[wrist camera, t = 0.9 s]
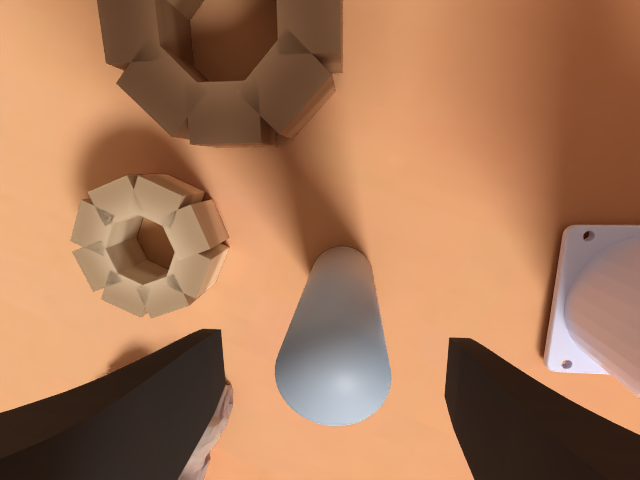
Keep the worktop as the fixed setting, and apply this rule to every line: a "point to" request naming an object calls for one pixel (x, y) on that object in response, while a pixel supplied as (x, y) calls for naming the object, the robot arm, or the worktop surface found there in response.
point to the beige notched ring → (126, 253)
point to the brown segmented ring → (225, 96)
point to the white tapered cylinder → (335, 344)
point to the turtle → (209, 438)
